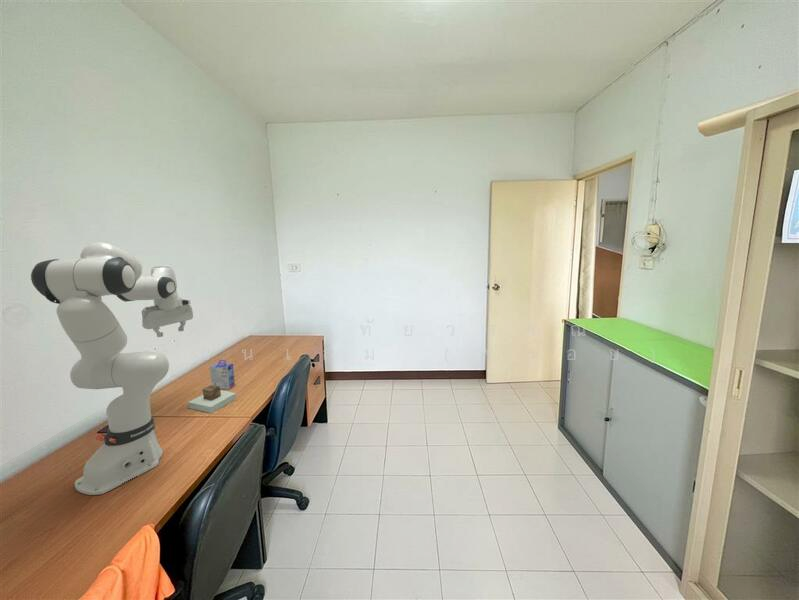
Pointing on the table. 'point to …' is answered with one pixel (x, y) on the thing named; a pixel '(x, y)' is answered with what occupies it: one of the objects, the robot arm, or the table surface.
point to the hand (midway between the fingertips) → (171, 333)
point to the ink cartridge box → (222, 375)
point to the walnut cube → (211, 392)
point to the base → (212, 402)
